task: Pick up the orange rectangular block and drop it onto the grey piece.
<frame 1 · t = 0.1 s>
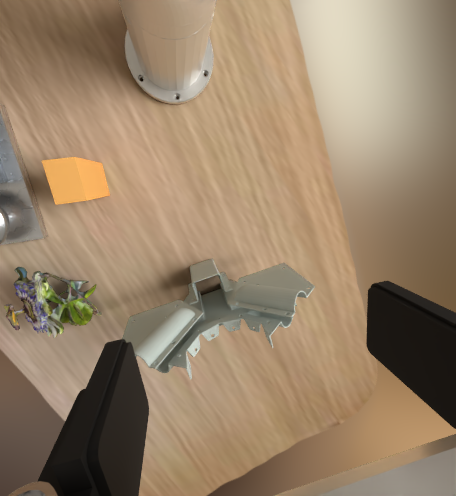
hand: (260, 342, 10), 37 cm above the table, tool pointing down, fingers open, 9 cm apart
bracket: (206, 278, 48), on the table
orange rectangular block: (94, 181, 40), on the table
passion flower: (67, 288, 44), on the table
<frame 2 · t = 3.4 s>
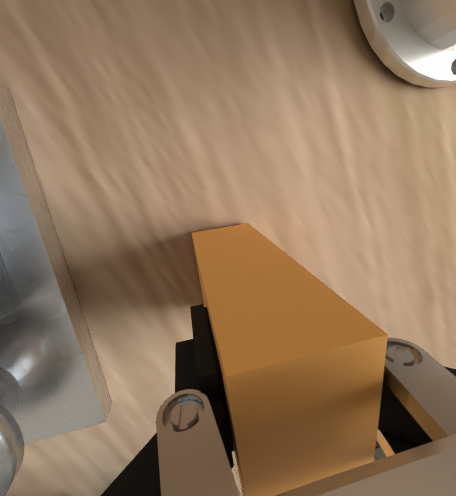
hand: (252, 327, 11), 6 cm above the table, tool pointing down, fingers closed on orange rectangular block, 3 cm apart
orange rectangular block: (225, 265, 16), on the table, touching gripper
when the fingers open (9 cm above the table, at t = 10.7 s): orange rectangular block drops 2 cm, resting on grey piece.
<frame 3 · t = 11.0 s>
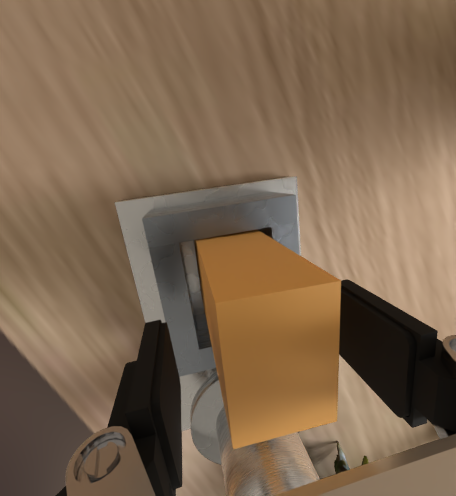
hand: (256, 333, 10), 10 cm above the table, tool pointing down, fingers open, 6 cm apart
grey piece: (225, 307, 20), on the table
orange rectangular block: (221, 258, 18), point 1 cm above the table, touching grey piece
passion flower: (304, 454, 27), on the table
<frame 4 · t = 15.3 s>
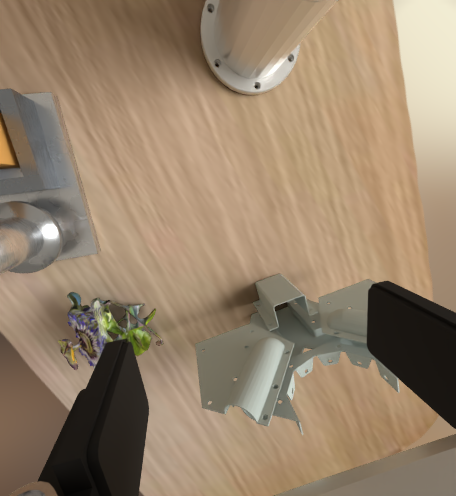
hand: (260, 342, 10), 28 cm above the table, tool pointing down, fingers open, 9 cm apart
grey piece: (29, 186, 31), on the table
bracket: (272, 295, 42), on the table
orange rectangular block: (8, 144, 29), point 1 cm above the table, touching grey piece
passion flower: (120, 313, 38), on the table
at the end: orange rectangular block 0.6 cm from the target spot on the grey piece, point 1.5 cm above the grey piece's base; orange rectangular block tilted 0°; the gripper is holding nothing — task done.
